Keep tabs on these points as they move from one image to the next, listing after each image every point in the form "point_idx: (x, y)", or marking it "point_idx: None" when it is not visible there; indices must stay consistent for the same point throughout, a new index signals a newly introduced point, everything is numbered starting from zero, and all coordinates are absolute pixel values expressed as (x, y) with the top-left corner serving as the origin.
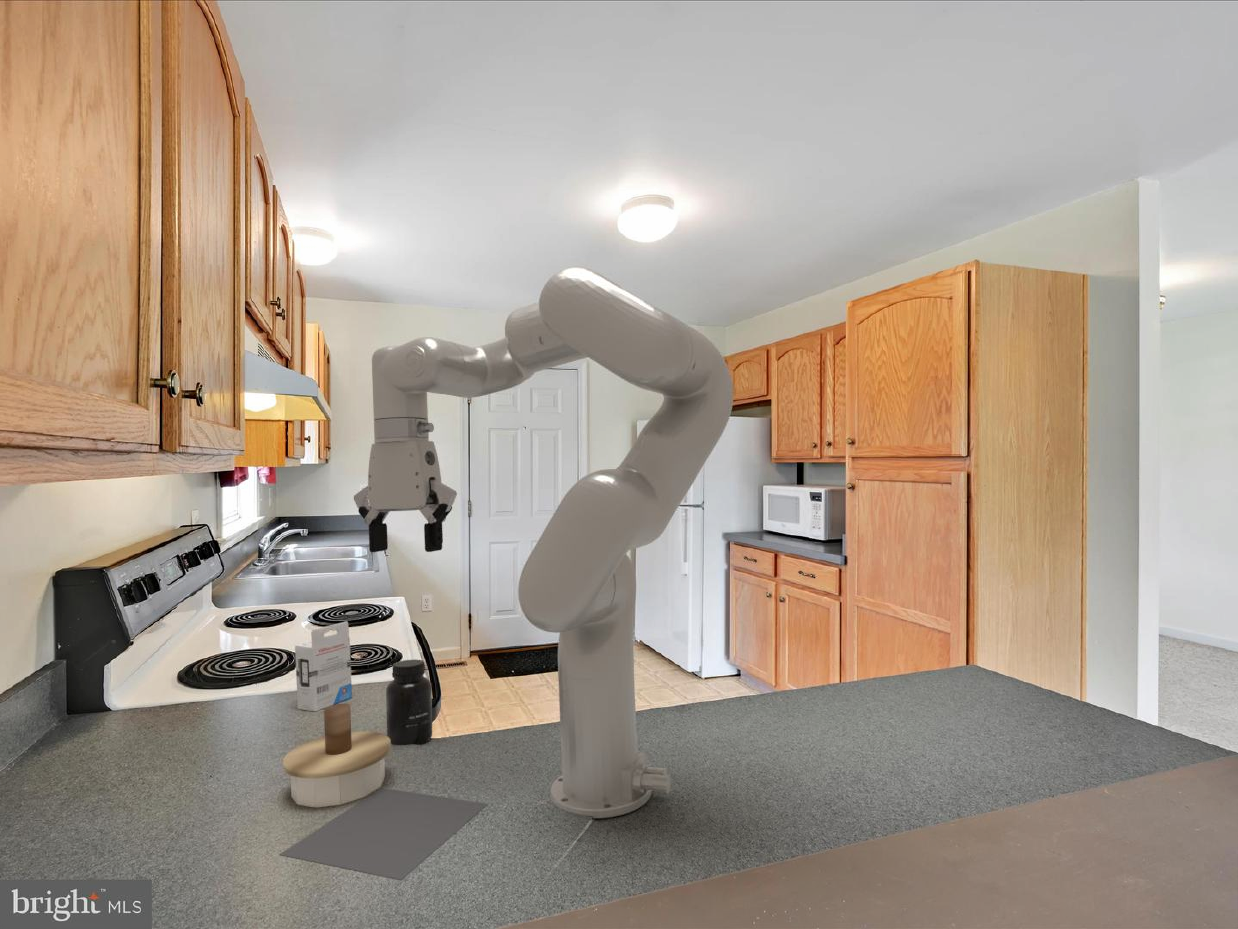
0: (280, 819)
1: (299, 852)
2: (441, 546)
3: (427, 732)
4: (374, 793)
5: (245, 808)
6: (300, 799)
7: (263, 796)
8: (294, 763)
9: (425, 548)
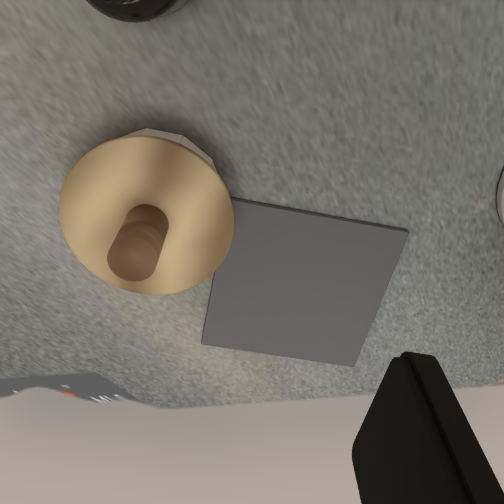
0: None
1: (221, 339)
2: (435, 370)
3: None
4: None
5: (58, 250)
6: None
7: (51, 218)
8: (111, 272)
9: (357, 466)
